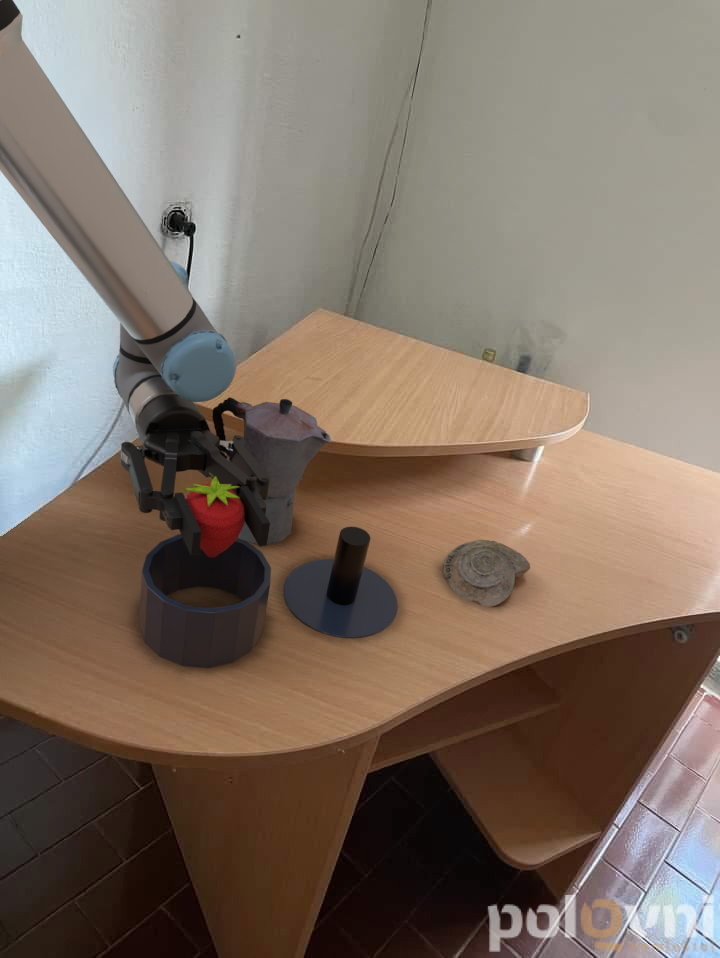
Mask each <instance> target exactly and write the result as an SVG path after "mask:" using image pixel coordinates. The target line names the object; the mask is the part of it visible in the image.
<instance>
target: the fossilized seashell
mask: <svg viewBox="0 0 720 958" xmlns="http://www.w3.org/2000/svg"><path fill="white" fill-rule="evenodd" d="M530 569H531V564H530V562H529V560H528V559H527V557H525V556H524V555H523V554H521V553H520V552H518V551H517V550H515V549H514V548H512V547H510V546H508V545H506V544H503V543H501V542H497V541H495V540H487V539H477V540H472V541H467V542H465V543H462V544H460V545H458V546H456V547H455V548H454V549H452V550H451V551H450V552H448V554H447V556H446V557H445V559H444V562H443V564H442V575H443V579H444V580H445V582H446V583H447V585H448V587H449V589H450V590H451V591H452V592H453V593H455V595H457V596H459V597H461V598H462V599H464V600H466V601H468V602H470V603H471V602H472V603H474V604H477V605H479V606H481V607H486V608H491V607H495V606H499V605H500V604H502V603H503V602H504V601H506V600H507V599H508V598H509V597H510V595H511V594H512V592H513V590H514V587H515V582H516V579H518V578H520V577H522V576H524V575H525V574H526V573H527V572H528V571H529V570H530Z"/></svg>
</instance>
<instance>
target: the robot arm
mask: <svg viewBox="0 0 720 958" xmlns="http://www.w3.org/2000/svg"><path fill="white" fill-rule="evenodd" d="M23 17H24V16H23V14H22V12H21V10H20V9H19V7H18V6H17V4H16V3H15V1H14V0H0V172H1V174H2V175H3V176H4V177H5V179H6V180H7V181H8V183H9V184H10V185H11V186H12V187H13V188H14V190H15V191H16V193H17V194H18V195H19V196H20V198H21V199H22V200H23V202H24V203H25V204H26V205H27V207H29V209H30V210H31V211H32V213H33V214H34V215H35V216H36V218H37V219H38V220H39V222H40V223H41V225H42V226H43V227H44V228H45V229H46V230H47V232H48V233H49V234H50V236H51V237H52V238H53V240H54V241H55V242H56V243H57V245H58V246H59V247H60V248H61V250H62V251H63V253H65V254H66V256H67V258H69V259H70V261H71V262H72V263H73V264H74V266H75V267H76V268H77V270H78V271H79V272H80V273H81V275H82V276H83V278H84V279H85V280H86V282H88V284H89V285H90V286H91V287H92V289H93V290H94V291H95V293H96V294H97V295H98V296H99V297H100V299H101V300H102V301H103V303H104V304H105V305H106V306H107V308H108V310H110V312H111V313H112V314H113V315H114V317H115V318H116V319H117V320H118V322H119V350H118V354H117V355H116V358H115V360H114V362H113V365H112V375H113V381H114V383H113V384H114V386H115V389H116V390H117V393H118V395H119V396H120V398H121V399H122V401H123V404H124V406H125V408H126V410H127V412H128V415H129V416H130V419H131V421H132V423H133V425H134V428H135V430H136V432H137V434H138V437H139V439H140V442H141V444H140V445H135V444H134V443H132V442H130V441H123V442H122V443H121V444H120V465H121V466H122V468H123V469H125V471H127V473H128V474H129V477H130V481H131V484H132V488H133V492H134V496H135V499H136V502H137V506H138V510H139V512H141V513H142V514H150V513H151V512H153V511H158V513H159V516H158V518H159V520H160V521H162V522H165V523H166V525H167V528H168V529H169V530H171V531H179V533H180V534H181V535H182V537H183V539H184V541H185V544H186V546H187V548H188V550H189V553H190V555H191V556H198V555H199V553H200V542H201V530H200V528H199V526H198V524H197V521H196V519H195V517H194V515H193V513H192V511H191V509H190V507H189V505H188V503H187V501H186V497H185V494H184V493H183V492H175V486H176V480H177V479H176V477H177V473H179V472H186V471H198V472H199V473H200V474H201V475H203V476H204V477H205V478H211V479H212V480H213V479H214V477H215V476H216V477H217V479H218V481H219V483H220V484H232V485H231V486H239V488H236V489H232V491H233V492H234V493H235V494H236V495H237V496H238V497H239V498H240V500H241V502H242V503H243V506H244V514H245V522H246V524H247V526H248V528H249V529H250V531H251V533H252V535H253V536H254V538H255V540H256V542H257V543H258V544H257V545H258V547H259V548H260V547H267V545H268V544H267V540H268V534H269V527H270V522H269V520H268V519H267V517H266V515H265V513H266V503H265V502H264V500H266V499H267V497H268V490H269V483H270V478H269V476H268V475H267V474H266V473H265V471H264V470H263V469H262V467H261V466H260V465H259V464H258V462H257V461H256V460H255V459H254V457H253V456H252V455H251V453H250V452H249V451H248V450H247V448H246V447H245V446H244V436H242V435H233V436H232V440H226V441H221V440H220V439H219V437H218V436H216V433H213V432H211V430H210V426H209V424H208V422H207V419H206V418H205V416H204V414H203V413H202V411H201V410H200V408H199V407H198V405H197V403H202V402H209V401H212V400H213V399H215V398H217V397H219V396H221V395H222V394H223V393H224V392H225V391H226V390H228V388H230V386H231V385H232V382H233V380H234V378H235V377H236V373H237V359H236V355H235V354H234V350H233V349H232V347H231V345H229V344H228V341H227V339H226V338H225V337H224V336H223V335H222V333H219V332H218V331H217V330H216V328H215V327H214V326H213V324H212V323H211V322H210V320H209V318H208V317H207V315H206V314H205V312H204V311H203V309H202V307H201V306H200V305H199V303H198V301H196V300H195V298H194V297H193V294H192V292H191V291H190V289H189V285H188V284H189V282H188V281H189V280H188V278H189V277H188V271H187V270H186V269H185V267H183V266H182V265H181V264H179V263H177V262H174V261H173V260H170V259H169V258H168V256H167V255H166V253H165V252H164V250H163V249H162V247H161V246H160V244H159V243H158V241H157V240H156V238H155V237H154V235H153V234H152V232H151V231H150V229H149V227H148V226H147V225H146V223H145V222H144V220H143V219H142V218H141V216H140V214H139V212H138V211H137V210H136V208H135V207H134V205H133V204H132V202H131V200H130V199H129V198H128V196H127V195H126V193H125V191H124V190H123V188H122V186H120V184H119V182H118V181H117V179H116V178H115V176H114V175H113V174H112V172H111V170H110V169H109V168H108V165H106V163H105V161H104V160H103V158H102V156H101V155H100V154H99V152H98V151H97V150H96V148H95V146H94V145H93V144H92V142H91V140H90V139H89V137H88V136H87V134H86V133H85V132H84V129H82V127H81V125H80V124H79V122H78V121H77V119H76V118H75V116H74V115H73V113H72V112H71V110H70V108H69V107H68V106H67V104H66V102H65V101H64V100H63V98H62V97H61V95H60V94H59V92H58V91H57V89H56V88H55V86H54V85H53V83H52V81H50V78H49V77H48V76H47V74H46V73H45V71H44V70H43V68H42V66H41V65H40V64H39V62H38V60H37V59H36V58H35V56H34V55H33V53H32V52H31V50H30V49H29V47H28V45H27V44H26V43H25V41H24V40H23V35H22V30H23V21H24V20H23V19H24V18H23ZM220 452H223V453H224V454H225V455H226V456H227V459H226V458H224V457H223V456H222V455H221V454H220ZM145 459H147V460H149V461H150V462H153V463H155V464H157V465H159V466H160V467H163V470H162V477H161V485H160V491H159V490H154V486H153V484H152V481H151V478H150V475H149V474H150V473H149V471H148V468H147V465H146V462H145ZM229 461H231V462H232V463H231V462H229ZM209 473H211V474H212V475H213V476H214V477H213V476H212V475H210V474H209Z"/></svg>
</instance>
